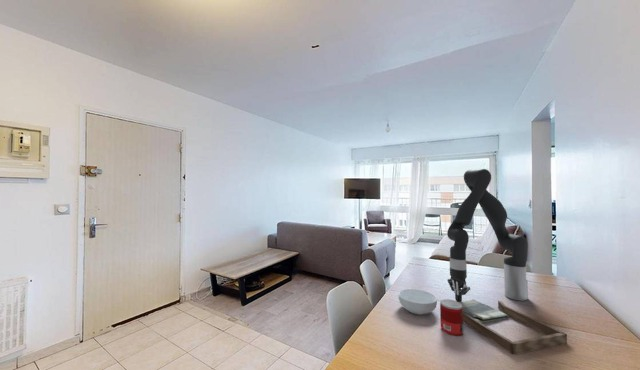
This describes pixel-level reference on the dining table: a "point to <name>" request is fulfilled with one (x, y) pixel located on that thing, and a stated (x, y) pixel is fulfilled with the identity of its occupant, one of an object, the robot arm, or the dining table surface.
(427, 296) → the cereal bowl
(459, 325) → the canned food
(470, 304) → the dish towel
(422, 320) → the dining table surface
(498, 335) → the towel holder
